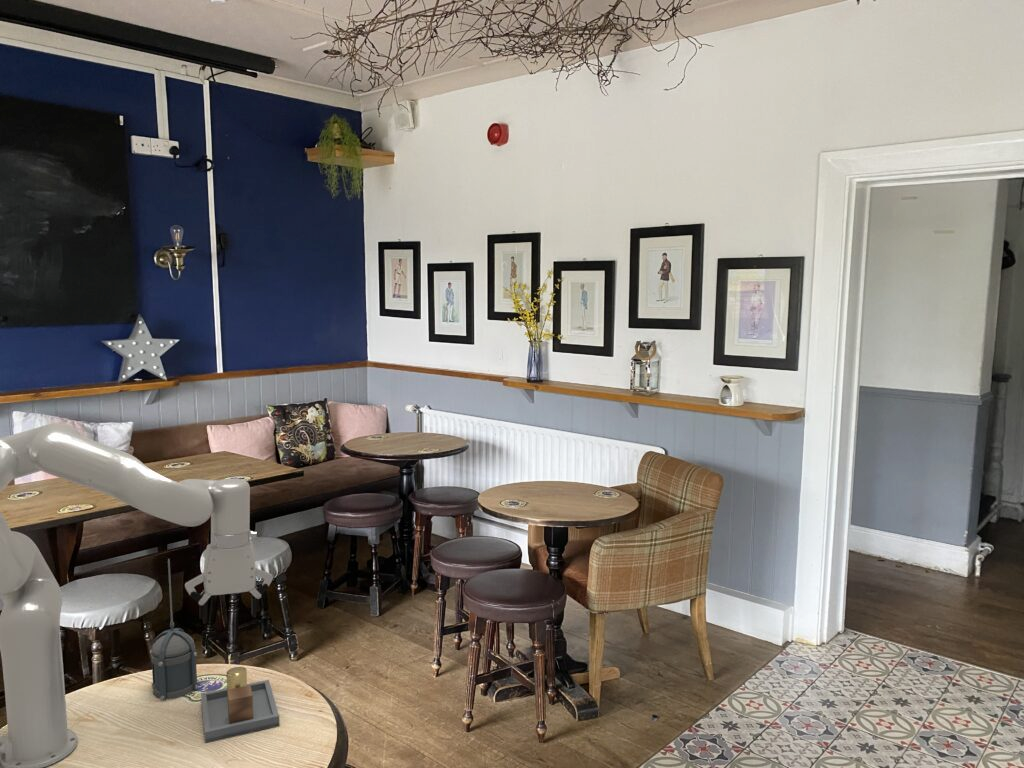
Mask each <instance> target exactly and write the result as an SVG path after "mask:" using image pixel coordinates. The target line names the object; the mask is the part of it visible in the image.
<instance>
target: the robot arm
mask: <svg viewBox="0 0 1024 768" xmlns="http://www.w3.org/2000/svg"><path fill="white" fill-rule="evenodd" d="M38 472H43V473H46V474H48V475H50V476H54V477H57V478H59V479H62V480H65V481H67V482H71V483H75V484H77V485H80V486H83V487H85V488H89V489H91V490H94V491H96V492H100V493H102V494H105V495H108V496H110V497H112V498H114V499H116V500H118V501H120V502H122V503H125V504H126V505H128V506H131V507H133V508H135V509H137V510H139V511H141V512H143V513H146V514H147V515H150V516H153V517H156V518H158V519H161V520H165V521H167V522H171V523H173V524H176V525H180V526H183V527H197V526H201V525H202V524H204V523H206V522H207V521H208V520H209V519H210V543H209V544H207V545H206V549H205V553H204V563H203V573H201V574H199V575H197V576H195V577H194V578H191V579H190V580H188V581H186V582H185V583H184V589H185V590H186V592H187V593H188V595H189V597H190V598H191V599H193V600H194V601H195V602H196V603H198V605H199V611H198V612H199V615H198V616H199V619H202V622H203V624H205V625H206V624H207V623H208V600H210V598H211V596H219V595H228V594H230V595H231V594H236V593H246V592H248V593H250V594H251V599H250V608H251V609H250V610H251V612H250V613H251V616H252V617H253V618H257V612H260V599H261V598H262V595H263V594H264V593H265V592H266V591H267V590H268V589H269V587H270V585H271V583H272V581H273V579H274V575H273V574H272V573H270V572H268V571H266V570H265V571H264V570H262V569H260V568H257V567H256V559H255V557H256V556H255V547H254V543H253V541H251V540H252V539H255V538H257V537H258V536H257V535H258V534H257V530H254V531H253V530H251V529H250V521H251V519H250V516H251V515H250V514H251V512H250V511H251V509H250V508H251V506H250V504H251V502H250V501H251V497H250V495H251V486H250V484H249V482H248V481H247V480H245V479H241V478H222V479H219V480H218V479H217V480H215V479H213V480H212V479H201V478H200V479H198V478H186V479H183V480H181V481H175V480H172V479H170V478H168V477H166V476H163V475H161V474H159V473H158V472H156V471H154V470H152V469H151V468H150V467H148V466H147V465H146V464H144V463H143V462H142V461H141V460H140V459H138V458H137V457H136V456H134V455H132V454H130V453H128V452H126V451H123V450H120V449H117V448H115V447H112V446H109V445H107V444H104V443H102V442H99V441H97V440H96V441H95V440H94V439H91V438H88V437H86V436H83V435H81V433H80V432H79V431H78V430H77V429H76V428H75V427H74V426H72V425H71V424H67V423H63V422H54V423H47V424H45V425H41V426H38V427H35V428H32V429H28V430H25V431H20V432H17V433H14V434H10V435H7V436H6V435H5V436H3V437H0V493H1V492H2V491H3V490H4V489H6V487H7V486H8V485H9V484H10V483H11V482H12V480H13V481H14V480H16V479H19V478H22V477H25V476H26V477H27V476H29V475H33V474H36V473H38ZM257 577H259V578H261V579H263V581H262V583H261V584H260V585H259V586H258V587H257V585H256V584H257ZM202 583H203V588H204V589H203V590H202V592H201V593H200V592H198V591H197V590H196V589H195V587H196V586H198V585H200V584H202ZM0 599H1V601H2V602H3V603H2V604H3V606H2V610H1V612H0V655H1V656H0V657H1V665H2V673H3V675H2V676H3V683H4V684H3V685H4V696H5V709H6V720H7V721H6V722H7V733H6V734H2V736H1V737H0V766H1V767H2V768H46V767H48V766H51V765H53V764H55V763H58V762H60V761H62V760H63V759H64V758H66V757H67V756H69V755H70V754H71V753H73V751H74V750H75V749H76V747H77V746H78V741H79V740H78V739H79V737H78V734H77V732H75V731H74V730H72V729H69V728H68V719H67V716H68V715H67V704H66V701H67V700H66V689H65V687H66V686H65V675H64V663H63V662H64V661H63V659H64V658H63V649H62V640H61V624H60V623H61V621H60V620H61V614H62V613H61V612H62V605H63V592H62V590H61V586H60V584H59V583H58V581H57V579H56V578H55V576H54V574H53V572H52V570H51V569H50V566H49V565H48V564H47V562H46V560H45V558H44V556H43V555H42V552H40V549H39V548H38V546H37V545H36V543H35V542H34V541H33V540H32V538H30V537H29V536H28V535H26V534H24V533H22V532H18V531H13V530H11V528H10V527H9V525H8V522H7V520H6V519H5V517H4V515H3V514H2V512H0Z"/></svg>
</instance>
